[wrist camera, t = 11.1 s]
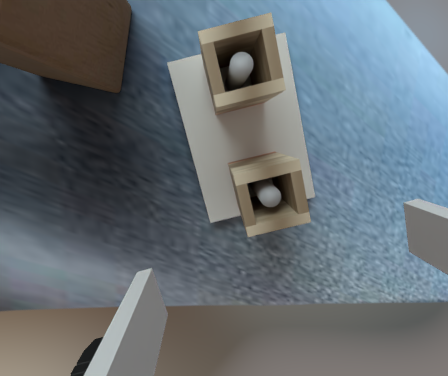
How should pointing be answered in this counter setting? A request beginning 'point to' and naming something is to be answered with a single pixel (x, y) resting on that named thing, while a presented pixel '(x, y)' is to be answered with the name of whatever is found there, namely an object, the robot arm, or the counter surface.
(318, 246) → the counter surface
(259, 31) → the sleeve seated
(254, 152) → the pin board
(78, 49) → the wooden block
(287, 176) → the sleeve
